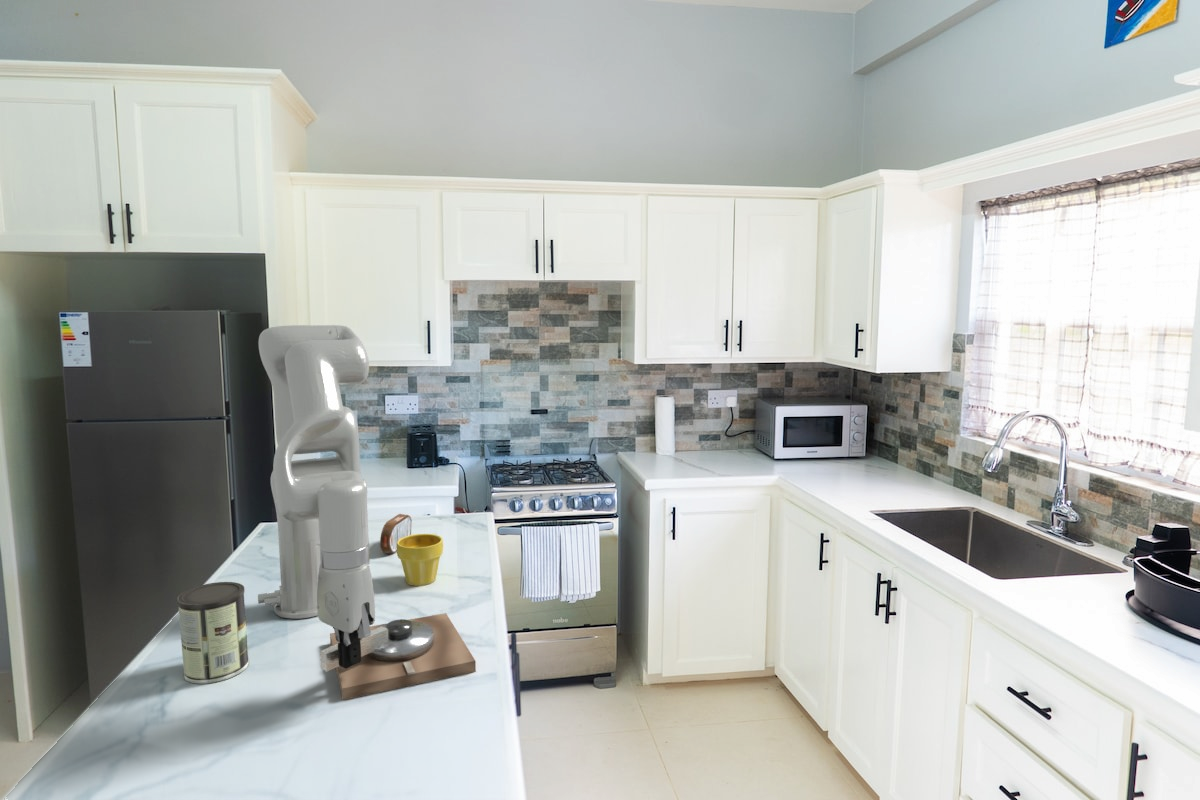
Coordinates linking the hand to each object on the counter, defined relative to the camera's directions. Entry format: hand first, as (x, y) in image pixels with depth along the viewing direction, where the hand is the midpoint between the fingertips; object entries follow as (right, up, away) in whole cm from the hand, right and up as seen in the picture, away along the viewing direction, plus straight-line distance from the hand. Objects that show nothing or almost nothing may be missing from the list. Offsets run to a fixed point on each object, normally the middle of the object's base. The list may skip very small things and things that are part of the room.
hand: (350, 663), depth 120 cm
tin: (-12, +4, +72) cm, 73 cm away
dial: (+2, -1, +8) cm, 8 cm away
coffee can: (-26, -4, +7) cm, 27 cm away
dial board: (+5, -3, +12) cm, 13 cm away
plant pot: (0, +1, +49) cm, 49 cm away
